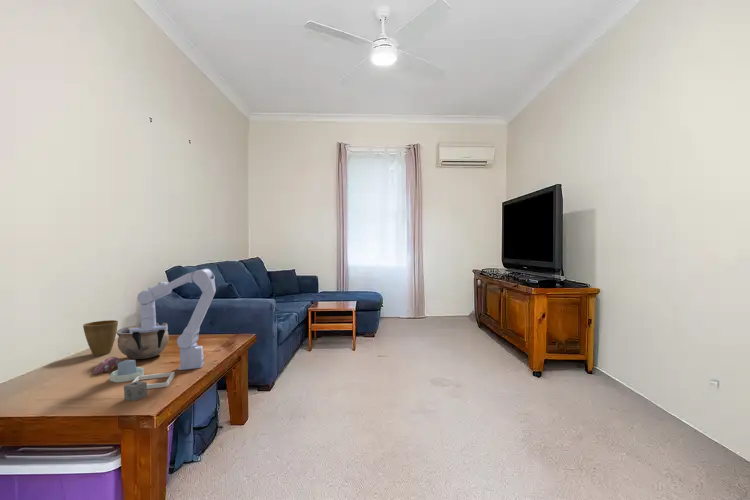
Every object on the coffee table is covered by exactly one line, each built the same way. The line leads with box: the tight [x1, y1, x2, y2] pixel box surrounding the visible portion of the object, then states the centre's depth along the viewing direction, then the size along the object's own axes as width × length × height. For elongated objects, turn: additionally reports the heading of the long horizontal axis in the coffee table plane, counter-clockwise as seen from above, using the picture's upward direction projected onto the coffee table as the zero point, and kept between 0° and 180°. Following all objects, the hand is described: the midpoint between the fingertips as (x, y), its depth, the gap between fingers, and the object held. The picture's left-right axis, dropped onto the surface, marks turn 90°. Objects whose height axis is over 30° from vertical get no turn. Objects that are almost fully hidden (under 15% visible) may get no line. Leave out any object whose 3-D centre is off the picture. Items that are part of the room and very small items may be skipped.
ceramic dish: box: [109, 366, 145, 383], centre depth 168 cm, size 11×11×2 cm
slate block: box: [117, 359, 137, 376], centre depth 168 cm, size 4×4×6 cm
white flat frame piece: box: [131, 371, 176, 390], centre depth 160 cm, size 14×14×2 cm
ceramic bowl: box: [116, 322, 170, 360], centre depth 197 cm, size 22×22×15 cm
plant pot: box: [82, 319, 119, 357], centre depth 207 cm, size 15×15×16 cm
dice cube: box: [123, 380, 148, 402], centre depth 145 cm, size 5×5×5 cm
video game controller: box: [92, 356, 121, 375], centre depth 178 cm, size 10×5×7 cm, turn 170°
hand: (149, 348), depth 177 cm, fingers open, 7 cm apart
